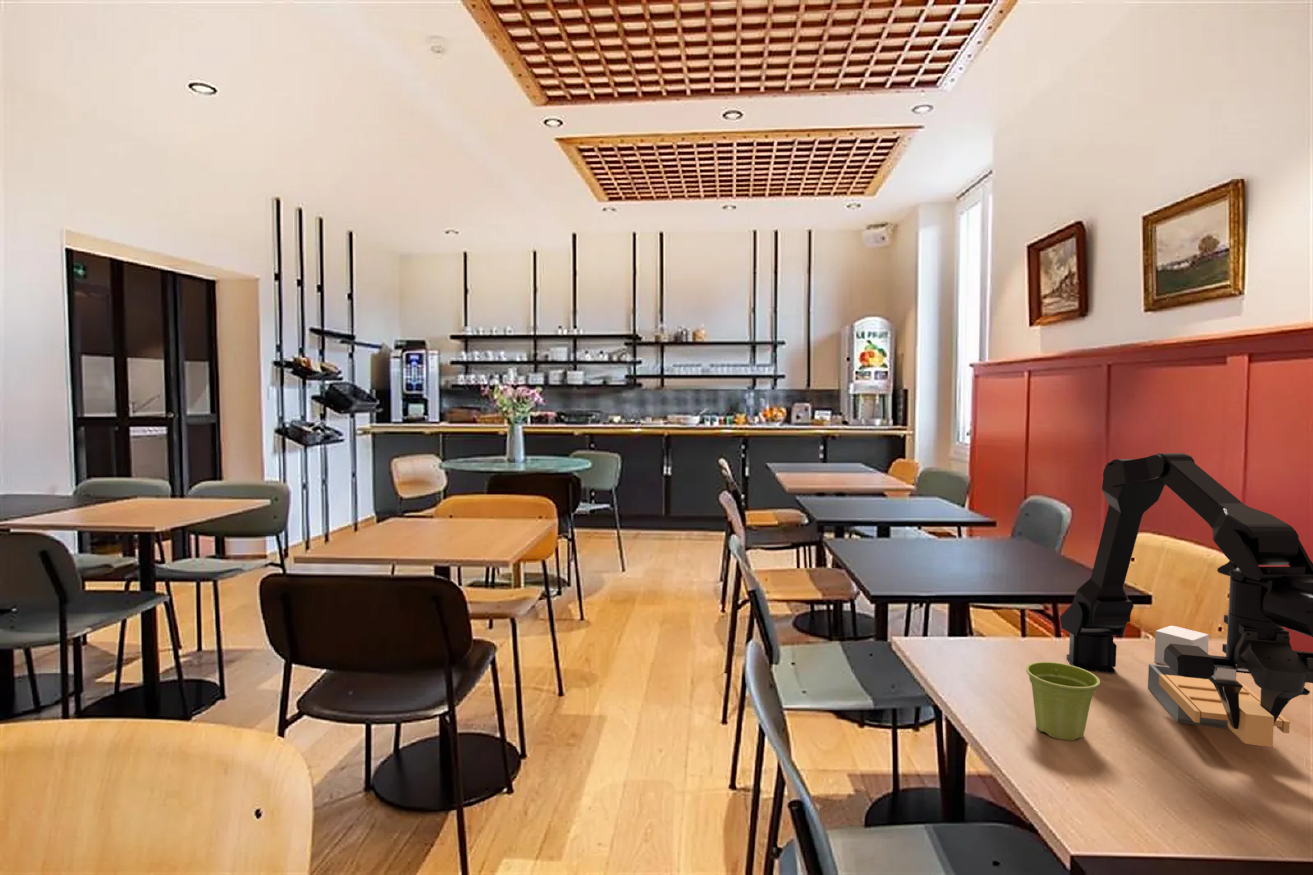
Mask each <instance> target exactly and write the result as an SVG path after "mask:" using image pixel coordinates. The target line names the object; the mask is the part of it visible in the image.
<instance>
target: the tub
mask: <svg viewBox="0 0 1313 875" xmlns="http://www.w3.org/2000/svg"><path fill="white" fill-rule="evenodd" d="M1159 674H1164V675H1174V676H1180V675H1177V674H1176V673H1175V672H1174V671H1173V670H1172V669H1171V668H1170V667H1169V666H1166V665H1163V664H1152V663H1149V664H1148V673H1147V676H1148V677H1147V690H1149V692H1150V693H1151V694H1152V695H1153V697H1154V698H1156V700H1157V701H1158V702H1159V703H1160V705H1162V707H1163V708H1164V709H1165V710H1166V711H1167V713H1169V714H1170V716H1171V717H1172V718H1173V719H1174V721H1176V722H1177V723H1178V724H1179V723H1180V724H1189V725H1196V726H1203V727H1212V728H1220V729H1228V730H1230V729H1229V728H1228V720H1219V719H1211V718H1202V717H1201V716H1200V723H1197V722H1194V721H1193V720H1192V719H1191V718H1190V717H1189V716H1188V715H1187V714H1186V713H1185V712H1184V710H1183V709H1182V708H1181V707H1180V706H1179V705H1178V704H1177V703H1176V702H1175V701H1174V700H1173V699H1172V698H1171V696H1170V695H1169V694H1168V693H1167V692H1166V691H1165V690H1164V689H1163V688H1162V687H1161V686H1160V685H1159Z"/></svg>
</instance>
